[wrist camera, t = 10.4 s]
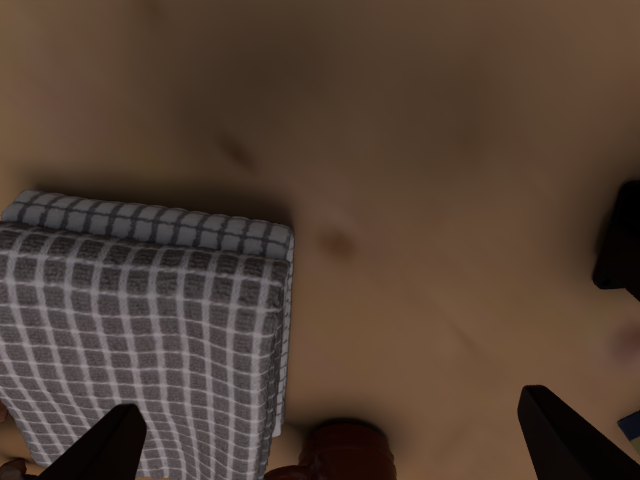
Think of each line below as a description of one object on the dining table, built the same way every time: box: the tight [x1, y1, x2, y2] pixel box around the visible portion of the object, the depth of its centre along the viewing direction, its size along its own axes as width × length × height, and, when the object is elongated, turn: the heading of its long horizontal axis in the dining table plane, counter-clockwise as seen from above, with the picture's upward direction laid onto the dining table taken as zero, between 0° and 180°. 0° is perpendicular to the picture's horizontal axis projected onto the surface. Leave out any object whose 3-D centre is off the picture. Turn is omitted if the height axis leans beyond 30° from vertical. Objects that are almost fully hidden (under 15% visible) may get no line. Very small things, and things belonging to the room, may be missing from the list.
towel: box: [0, 190, 294, 480], centre depth 22 cm, size 15×18×8 cm
